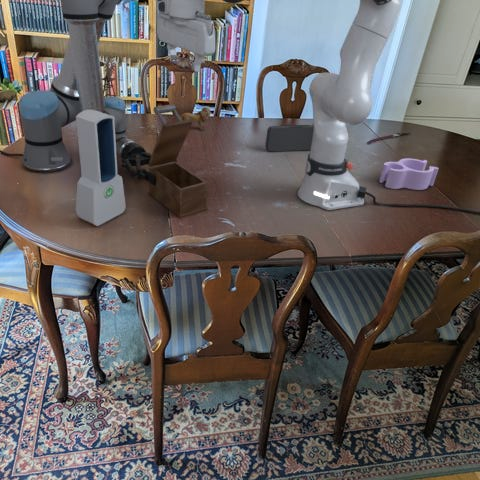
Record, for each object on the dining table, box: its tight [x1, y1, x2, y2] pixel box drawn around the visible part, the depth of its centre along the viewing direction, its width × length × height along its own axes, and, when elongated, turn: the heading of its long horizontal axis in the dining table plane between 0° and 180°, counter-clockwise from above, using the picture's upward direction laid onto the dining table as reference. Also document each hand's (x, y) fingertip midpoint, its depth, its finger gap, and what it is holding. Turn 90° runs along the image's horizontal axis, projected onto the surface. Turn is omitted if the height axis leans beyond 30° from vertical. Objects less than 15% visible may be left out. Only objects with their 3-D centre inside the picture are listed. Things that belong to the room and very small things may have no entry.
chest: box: [148, 161, 208, 218], centre depth 143 cm, size 18×10×9 cm, turn 40°
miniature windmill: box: [100, 52, 117, 98], centre depth 184 cm, size 9×8×30 cm
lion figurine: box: [180, 106, 211, 131], centre depth 199 cm, size 15×5×9 cm, turn 110°
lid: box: [147, 103, 194, 168], centre depth 140 cm, size 18×10×9 cm
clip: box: [378, 157, 439, 191], centre depth 172 cm, size 20×12×7 cm, turn 109°
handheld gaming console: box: [264, 124, 314, 152], centre depth 189 cm, size 23×3×10 cm, turn 108°
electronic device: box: [75, 110, 127, 227], centre depth 126 cm, size 12×8×30 cm, turn 148°
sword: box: [367, 132, 410, 144], centre depth 214 cm, size 31×3×1 cm, turn 126°
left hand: (168, 177), depth 146 cm, fingers closed on chest, 10 cm apart
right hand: (184, 66), depth 123 cm, fingers open, 8 cm apart
